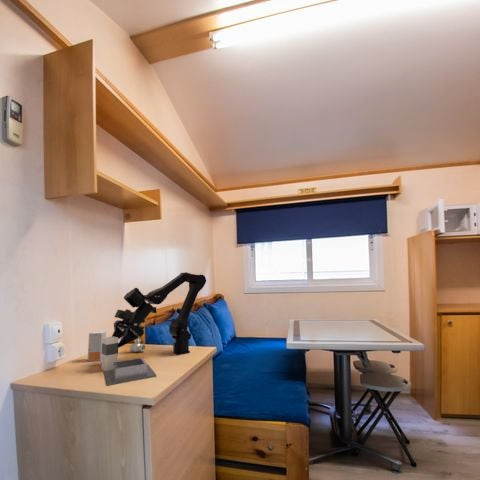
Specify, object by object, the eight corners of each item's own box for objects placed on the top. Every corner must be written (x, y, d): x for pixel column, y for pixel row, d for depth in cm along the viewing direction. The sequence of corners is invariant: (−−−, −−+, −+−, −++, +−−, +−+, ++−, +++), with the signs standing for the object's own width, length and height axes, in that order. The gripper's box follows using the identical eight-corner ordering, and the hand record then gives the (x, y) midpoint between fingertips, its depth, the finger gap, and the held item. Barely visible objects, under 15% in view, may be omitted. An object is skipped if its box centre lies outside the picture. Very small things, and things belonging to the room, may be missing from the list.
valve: (139, 353, 135) (140, 328, 137) (127, 353, 137) (127, 328, 138) (146, 350, 142) (147, 325, 144) (134, 350, 143) (135, 325, 145)
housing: (147, 365, 116) (147, 355, 116) (156, 376, 102) (156, 364, 102) (104, 372, 108) (104, 361, 109) (107, 385, 94) (107, 372, 95)
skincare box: (87, 361, 125) (88, 333, 127) (92, 358, 130) (93, 331, 131) (100, 361, 125) (101, 332, 127) (105, 358, 129) (106, 331, 131)
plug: (113, 366, 116) (114, 336, 118) (117, 368, 113) (118, 337, 114) (101, 369, 113) (102, 338, 114) (105, 371, 109) (106, 339, 111)
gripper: (119, 301, 127) (91, 330, 118) (137, 303, 114) (107, 335, 105) (135, 317, 132) (110, 346, 123) (155, 320, 119) (128, 353, 109)
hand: (113, 345), depth 115 cm, fingers open, 9 cm apart
